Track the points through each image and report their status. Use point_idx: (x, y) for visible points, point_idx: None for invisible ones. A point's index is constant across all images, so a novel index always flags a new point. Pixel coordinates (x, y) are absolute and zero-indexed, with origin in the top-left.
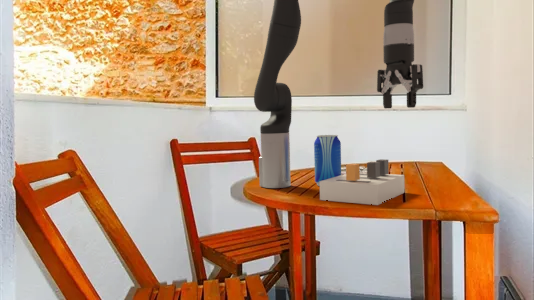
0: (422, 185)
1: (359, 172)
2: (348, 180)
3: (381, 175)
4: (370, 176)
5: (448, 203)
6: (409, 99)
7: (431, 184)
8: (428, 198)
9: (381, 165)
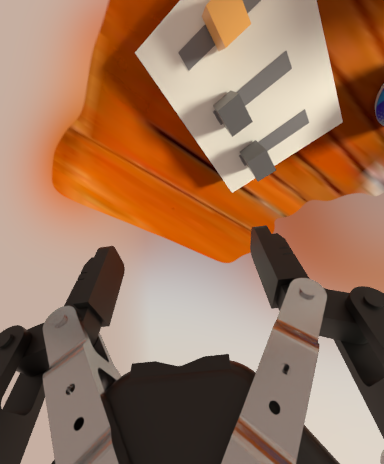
0: None
1: (221, 49)
2: None
3: None
4: (223, 96)
5: (122, 181)
6: (90, 275)
7: None
8: (167, 181)
9: (250, 154)
